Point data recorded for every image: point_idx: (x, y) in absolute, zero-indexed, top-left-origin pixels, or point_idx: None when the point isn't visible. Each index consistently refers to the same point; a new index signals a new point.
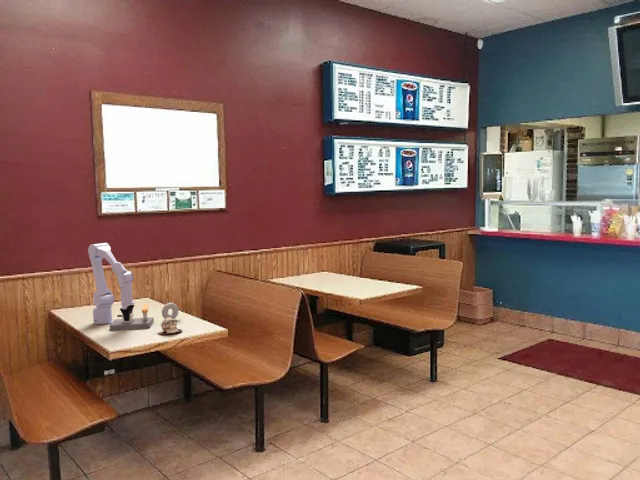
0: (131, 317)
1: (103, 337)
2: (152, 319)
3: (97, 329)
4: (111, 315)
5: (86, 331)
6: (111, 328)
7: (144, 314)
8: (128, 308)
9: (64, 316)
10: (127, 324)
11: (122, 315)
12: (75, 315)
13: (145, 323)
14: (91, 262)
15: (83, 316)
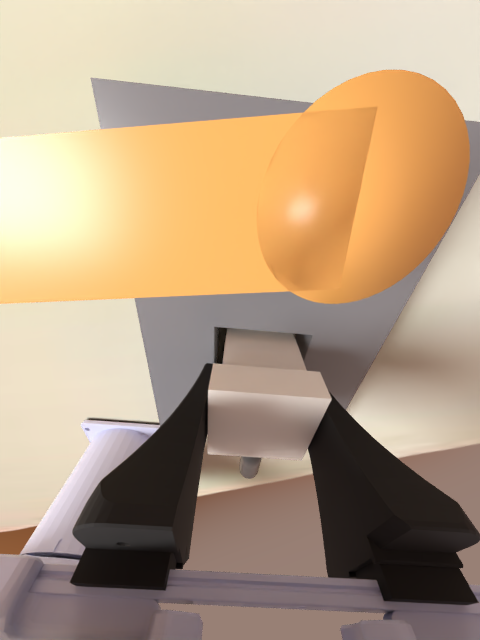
0: (320, 375)
1: (464, 422)
2: (195, 95)
3: None
4: (107, 465)
5: (288, 472)
6: None
7: None
8: (415, 547)
9: None
10: (368, 362)
11: (302, 455)
12: (20, 506)
13: (466, 185)
14: None
15: (29, 494)
